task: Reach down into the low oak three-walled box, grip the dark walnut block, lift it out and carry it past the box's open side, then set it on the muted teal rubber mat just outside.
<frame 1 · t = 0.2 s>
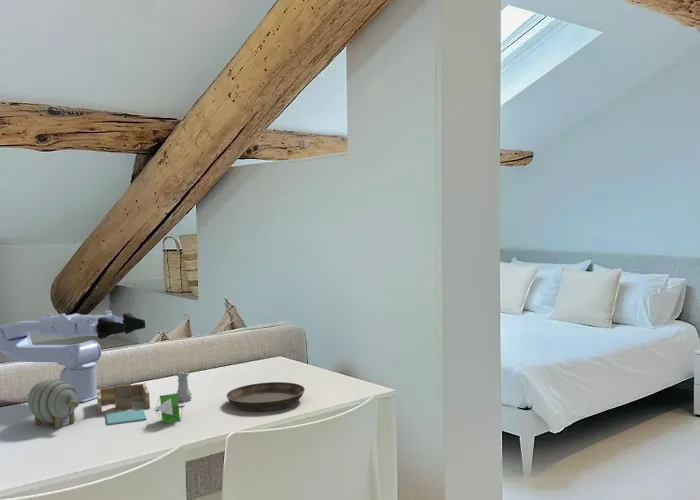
hand: (134, 326, 181), 21 cm above the table, tool horizontal, fingers open, 7 cm apart
plant saucer: (266, 403, 180), on the table
oak open-side box: (123, 406, 180), on the table
toy sheep: (54, 425, 165), on the table
teal mat: (125, 417, 169), on the table
walnut block: (123, 408, 178), on the table
rook chess piece: (183, 400, 184), on the table
geometric puzzle: (170, 422, 165), on the table
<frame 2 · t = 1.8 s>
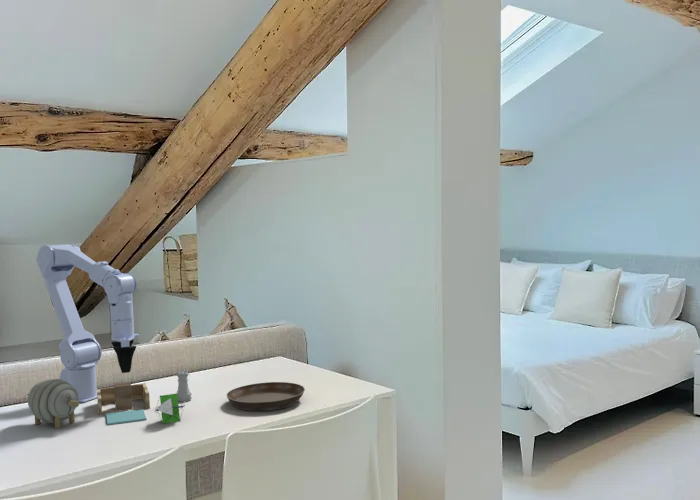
hand: (124, 369, 181), 9 cm above the table, tool pointing down, fingers open, 7 cm apart
nothing on the table moved.
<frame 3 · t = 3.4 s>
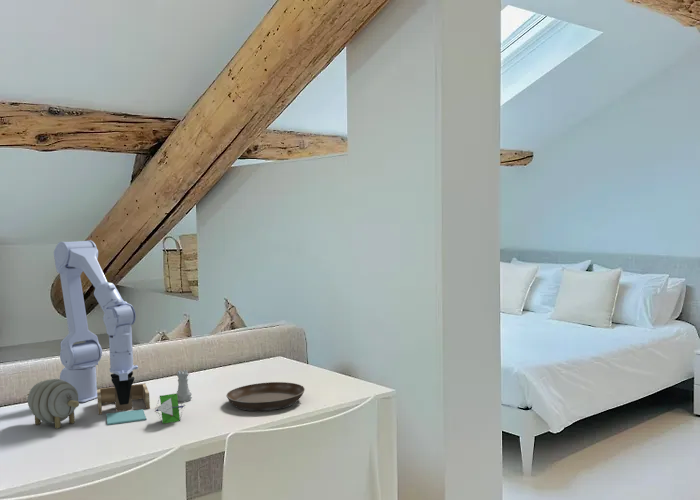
hand: (123, 402, 178), 2 cm above the table, tool pointing down, fingers closed on walnut block, 4 cm apart
walnut block: (123, 408, 178), on the table, touching gripper
everything else where it was.
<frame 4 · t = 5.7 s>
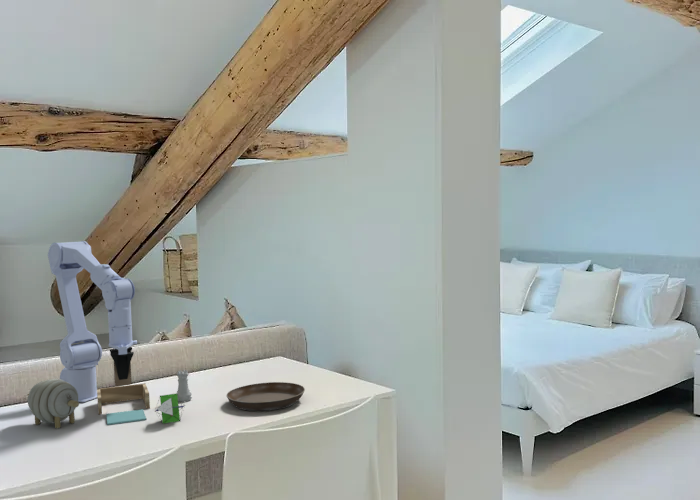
hand: (122, 377, 177), 8 cm above the table, tool pointing down, fingers closed on walnut block, 4 cm apart
walnut block: (123, 383, 177), point 7 cm above the table, touching gripper
everything else where it was.
when the fingers open (3 cm above the table, at t = 8.2 s): walnut block drops 1 cm, resting on teal mat.
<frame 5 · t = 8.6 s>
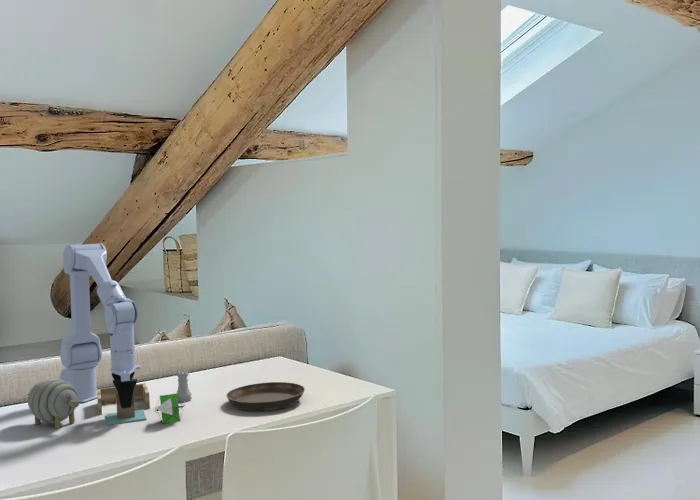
hand: (125, 403, 169), 4 cm above the table, tool pointing down, fingers open, 7 cm apart
walnut block: (125, 416, 169), resting on teal mat
everything else where it was.
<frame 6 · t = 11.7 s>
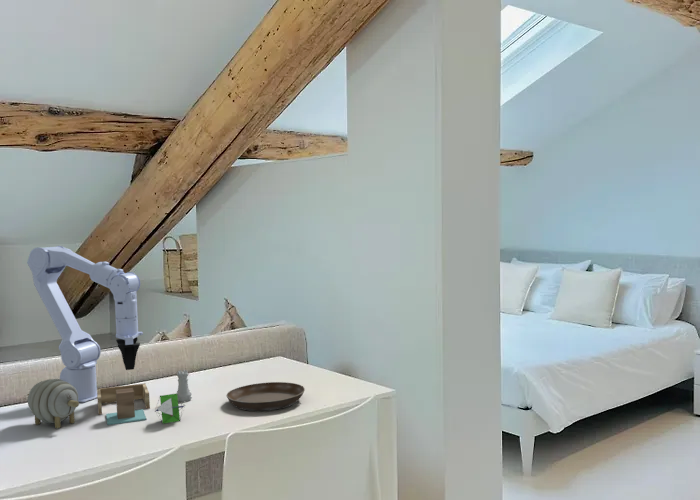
hand: (128, 366, 185), 9 cm above the table, tool pointing down, fingers open, 7 cm apart
nothing on the table moved.
at the end: walnut block 0.0 cm off-centre on the teal mat, point 0.4 cm above the teal mat's base; walnut block tilted 0°; the gripper is holding nothing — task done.
